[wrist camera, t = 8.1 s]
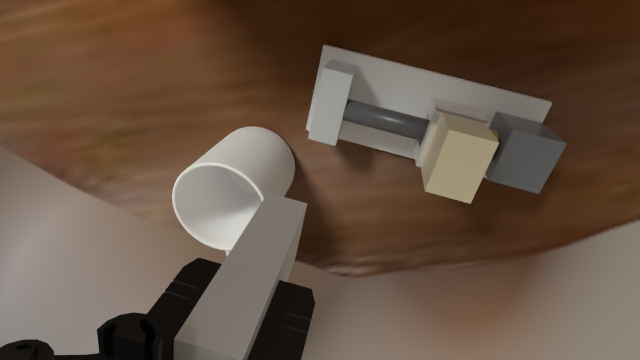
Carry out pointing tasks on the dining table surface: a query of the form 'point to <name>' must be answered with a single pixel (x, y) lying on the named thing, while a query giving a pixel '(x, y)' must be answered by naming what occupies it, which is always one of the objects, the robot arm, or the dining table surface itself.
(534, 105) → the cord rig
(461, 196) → the sleeve
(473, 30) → the dining table surface
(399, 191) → the dining table surface
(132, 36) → the dining table surface
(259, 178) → the cup
